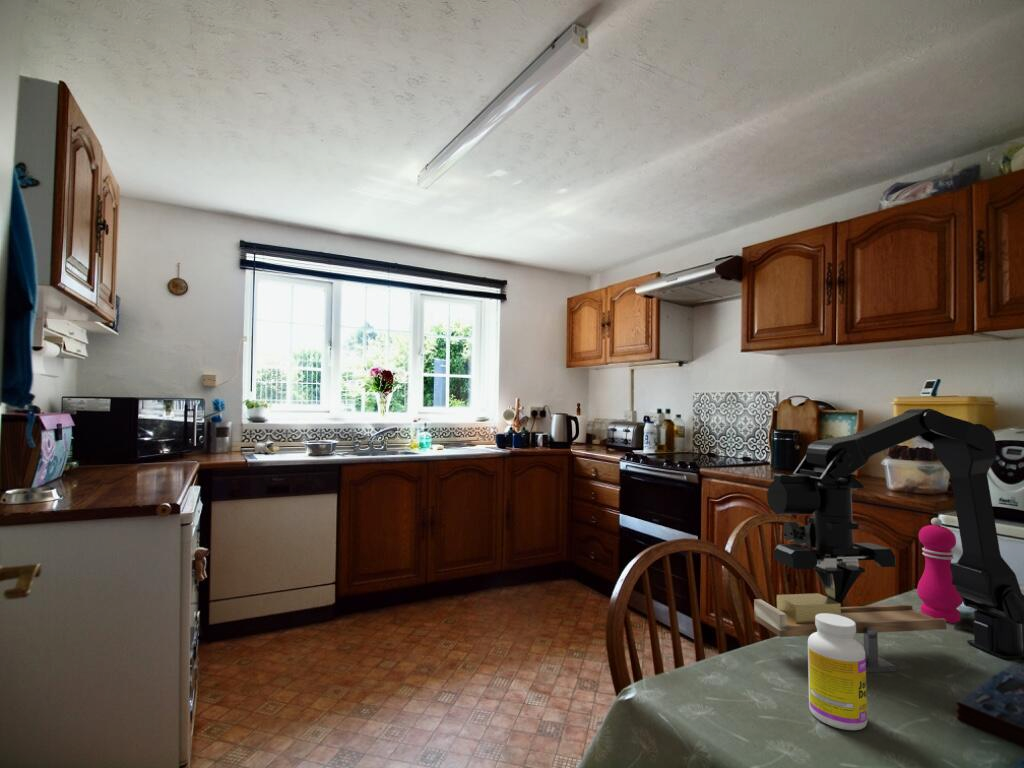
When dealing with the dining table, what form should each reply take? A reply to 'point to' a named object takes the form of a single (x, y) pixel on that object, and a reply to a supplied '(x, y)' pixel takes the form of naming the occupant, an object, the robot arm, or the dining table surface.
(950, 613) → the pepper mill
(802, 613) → the brass rider
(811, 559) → the robot arm
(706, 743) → the dining table surface
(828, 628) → the supplement bottle
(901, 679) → the dining table surface
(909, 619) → the balance beam
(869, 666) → the stand
